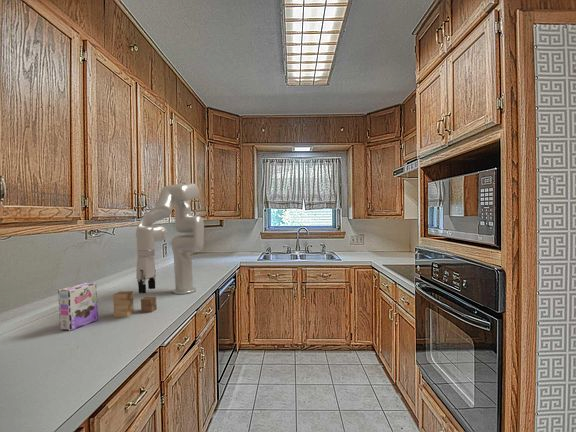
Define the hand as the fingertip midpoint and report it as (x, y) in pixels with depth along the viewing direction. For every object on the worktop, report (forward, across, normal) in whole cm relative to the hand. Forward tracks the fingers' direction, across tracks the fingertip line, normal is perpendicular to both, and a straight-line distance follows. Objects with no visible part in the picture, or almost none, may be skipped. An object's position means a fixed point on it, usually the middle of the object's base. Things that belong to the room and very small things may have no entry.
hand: (147, 290), depth 170 cm
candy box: (+10, +18, -21) cm, 29 cm away
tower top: (+5, +5, -9) cm, 11 cm away
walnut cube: (+10, -1, 0) cm, 10 cm away
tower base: (+10, +5, -9) cm, 14 cm away
